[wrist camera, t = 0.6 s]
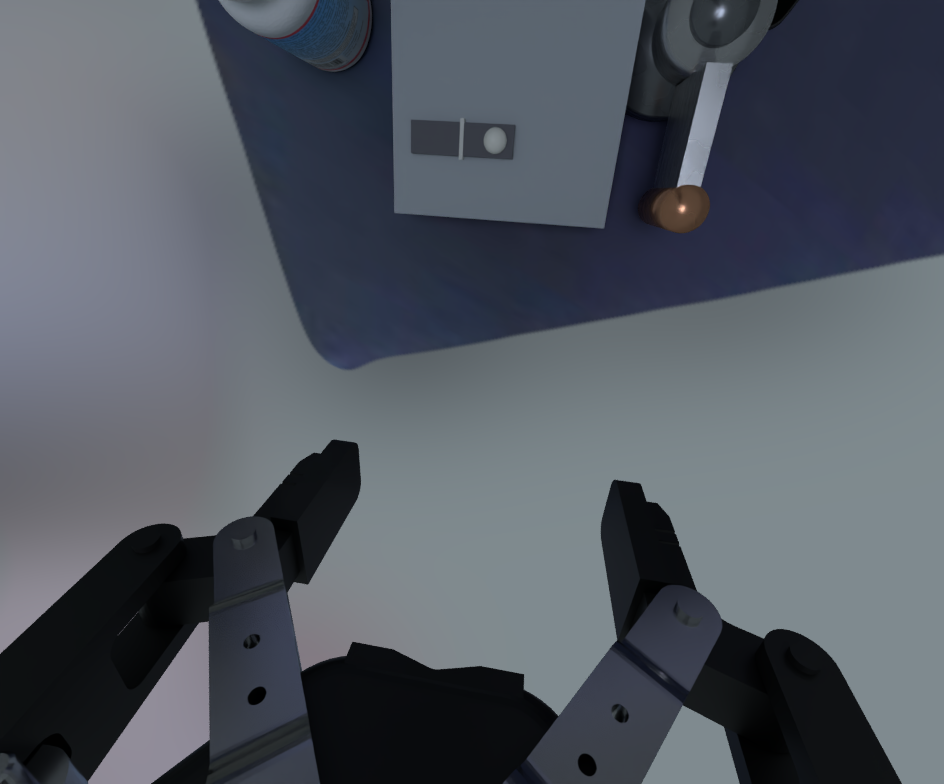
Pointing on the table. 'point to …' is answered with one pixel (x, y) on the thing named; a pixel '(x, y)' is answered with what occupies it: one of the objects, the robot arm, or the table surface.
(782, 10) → the smartphone
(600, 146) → the slide switch panel
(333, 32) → the pill bottle
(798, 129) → the table surface
